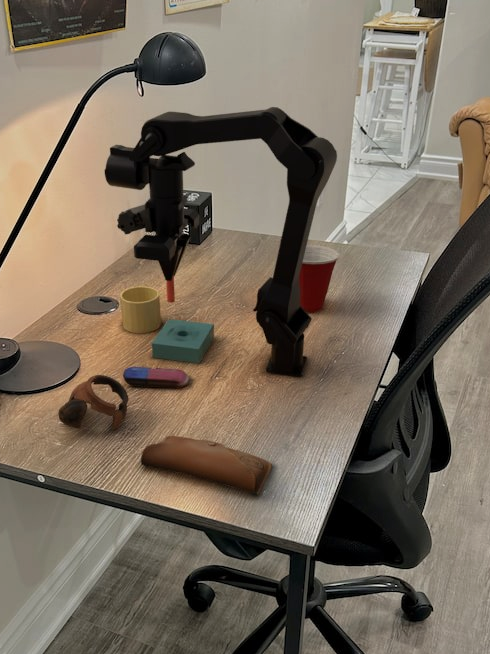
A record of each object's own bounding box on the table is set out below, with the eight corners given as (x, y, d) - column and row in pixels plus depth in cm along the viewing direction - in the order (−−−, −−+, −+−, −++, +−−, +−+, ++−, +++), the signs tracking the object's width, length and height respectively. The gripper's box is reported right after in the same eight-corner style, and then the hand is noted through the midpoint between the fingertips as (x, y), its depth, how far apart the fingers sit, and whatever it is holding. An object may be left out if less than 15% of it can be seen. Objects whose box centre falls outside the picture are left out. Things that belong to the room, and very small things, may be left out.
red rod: (173, 303, 132) (171, 256, 127) (166, 302, 132) (164, 256, 127) (175, 299, 133) (174, 254, 128) (168, 299, 134) (166, 253, 129)
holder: (199, 363, 131) (198, 349, 129) (152, 357, 133) (151, 343, 131) (214, 337, 139) (213, 323, 137) (169, 332, 141) (169, 318, 139)
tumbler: (153, 335, 140) (151, 304, 136) (117, 330, 142) (114, 300, 138) (166, 317, 146) (164, 288, 142) (131, 313, 148) (128, 284, 144)
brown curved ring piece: (86, 399, 122) (106, 364, 118) (123, 437, 120) (145, 403, 116) (35, 418, 112) (55, 380, 108) (74, 460, 110) (96, 423, 106)
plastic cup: (334, 295, 154) (338, 242, 147) (336, 318, 145) (341, 262, 138) (283, 294, 155) (285, 240, 148) (282, 317, 146) (284, 261, 139)
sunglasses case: (275, 460, 106) (269, 442, 100) (261, 505, 103) (254, 489, 97) (164, 435, 112) (152, 416, 106) (148, 476, 109) (135, 459, 103)
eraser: (189, 377, 127) (189, 368, 126) (187, 389, 124) (187, 380, 123) (126, 373, 128) (126, 365, 127) (122, 385, 124) (121, 376, 123)
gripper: (140, 173, 131) (145, 254, 140) (100, 206, 116) (109, 295, 125) (199, 178, 128) (200, 260, 137) (166, 212, 113) (170, 302, 122)
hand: (170, 278), depth 130 cm, fingers closed on red rod, 1 cm apart
